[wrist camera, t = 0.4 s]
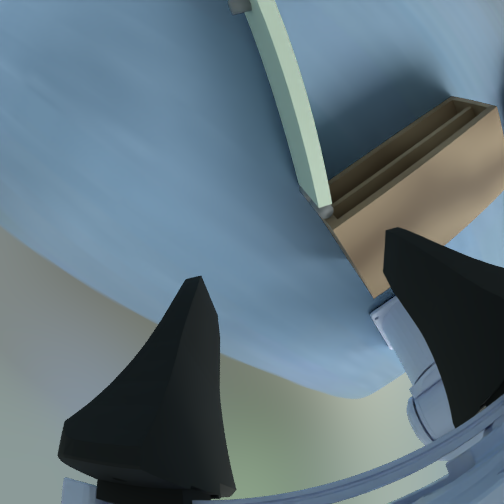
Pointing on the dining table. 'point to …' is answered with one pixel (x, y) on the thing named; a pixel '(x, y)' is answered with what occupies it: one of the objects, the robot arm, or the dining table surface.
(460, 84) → the dining table surface
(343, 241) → the cabinet
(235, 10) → the door
